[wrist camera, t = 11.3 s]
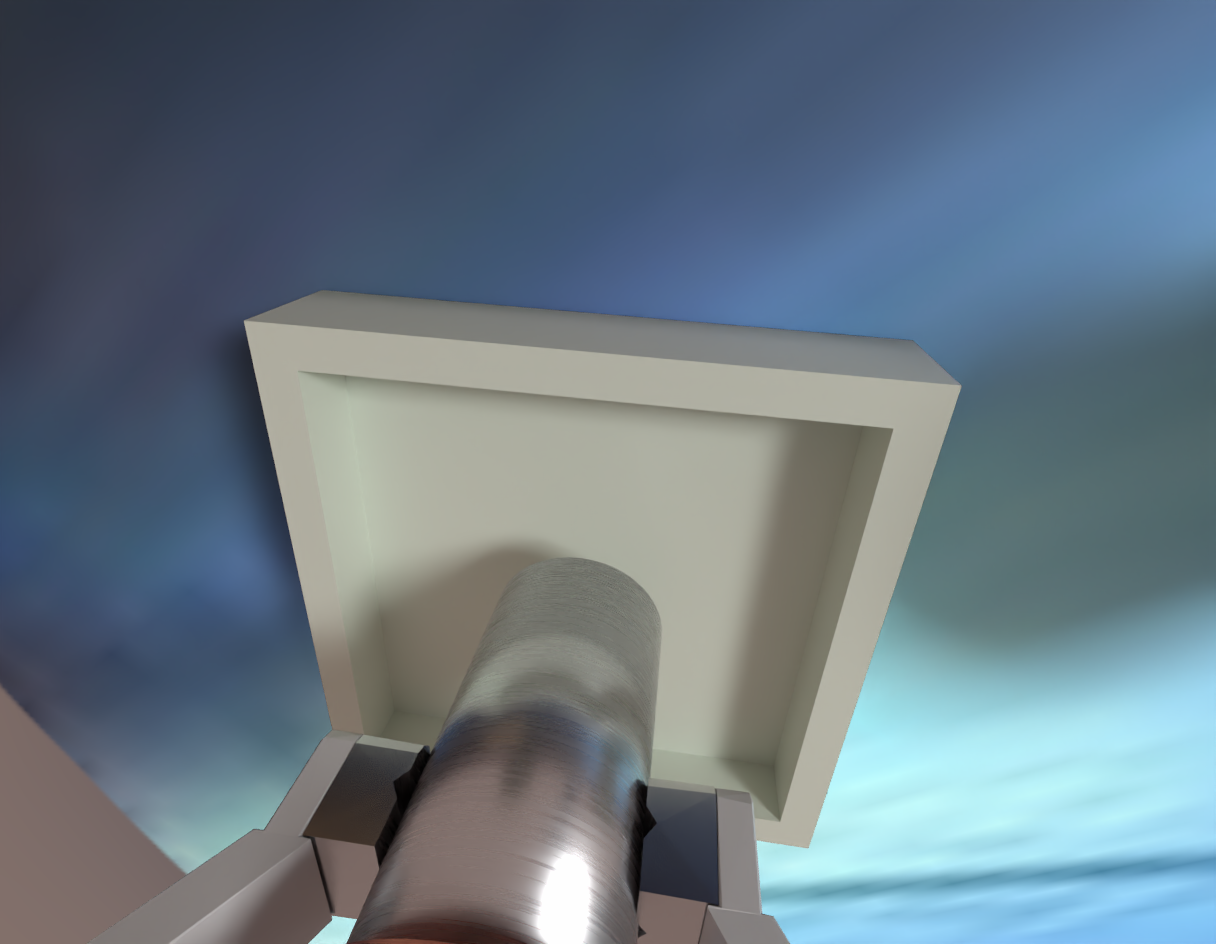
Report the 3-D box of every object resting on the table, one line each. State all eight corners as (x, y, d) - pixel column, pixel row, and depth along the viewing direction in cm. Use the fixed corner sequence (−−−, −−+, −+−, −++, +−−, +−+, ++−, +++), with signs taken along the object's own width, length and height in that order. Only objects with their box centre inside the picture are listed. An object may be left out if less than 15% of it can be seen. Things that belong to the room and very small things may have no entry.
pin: (693, 553, 12) (683, 1086, 5) (670, 713, 14) (642, 1247, 7) (473, 527, 12) (199, 993, 5) (482, 686, 14) (288, 1169, 7)
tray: (913, 340, 12) (961, 385, 10) (794, 758, 17) (808, 848, 15) (322, 290, 13) (243, 320, 11) (385, 699, 18) (342, 775, 16)
